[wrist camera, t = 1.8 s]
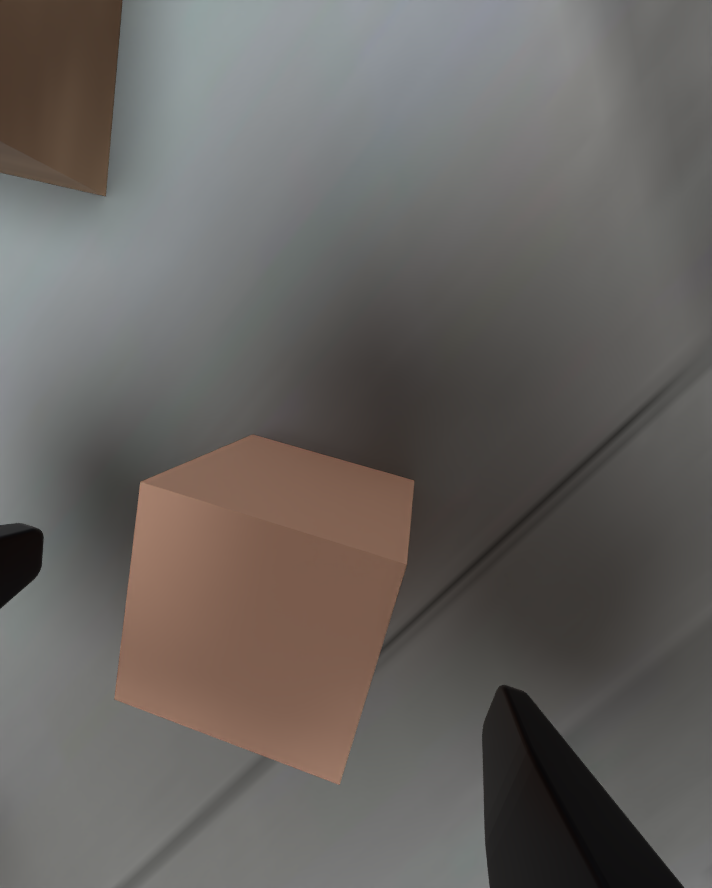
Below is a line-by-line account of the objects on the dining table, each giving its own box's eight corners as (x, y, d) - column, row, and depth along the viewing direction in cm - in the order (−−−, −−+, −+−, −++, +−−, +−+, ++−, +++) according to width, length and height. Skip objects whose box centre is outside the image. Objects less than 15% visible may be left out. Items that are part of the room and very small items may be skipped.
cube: (371, 624, 11) (339, 785, 7) (227, 576, 12) (114, 699, 8) (414, 479, 10) (406, 564, 6) (254, 433, 11) (140, 481, 7)
